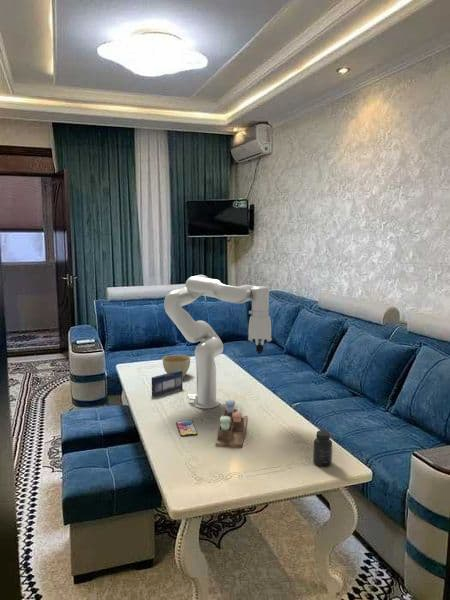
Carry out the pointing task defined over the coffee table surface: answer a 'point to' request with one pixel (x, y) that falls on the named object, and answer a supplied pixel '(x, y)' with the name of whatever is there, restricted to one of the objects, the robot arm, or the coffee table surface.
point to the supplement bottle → (322, 449)
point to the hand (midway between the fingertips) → (259, 352)
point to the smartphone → (186, 428)
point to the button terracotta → (236, 416)
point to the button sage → (225, 423)
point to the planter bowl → (176, 363)
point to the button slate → (230, 406)
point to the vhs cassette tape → (167, 383)
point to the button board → (232, 432)
